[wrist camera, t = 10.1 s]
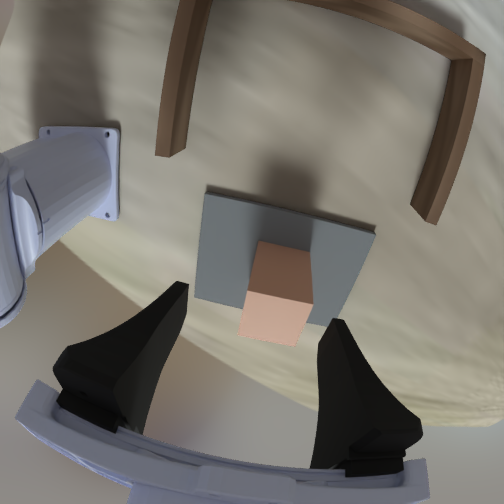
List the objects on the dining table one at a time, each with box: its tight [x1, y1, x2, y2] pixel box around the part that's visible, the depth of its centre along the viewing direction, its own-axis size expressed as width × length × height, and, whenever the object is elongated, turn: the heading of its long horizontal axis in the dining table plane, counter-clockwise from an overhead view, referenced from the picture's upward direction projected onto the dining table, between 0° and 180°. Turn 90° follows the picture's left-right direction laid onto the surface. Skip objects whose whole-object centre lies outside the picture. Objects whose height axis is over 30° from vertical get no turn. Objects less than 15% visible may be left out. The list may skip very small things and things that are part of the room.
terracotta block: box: [237, 241, 314, 347], centre depth 20 cm, size 4×4×6 cm
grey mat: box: [194, 192, 376, 327], centre depth 23 cm, size 13×10×1 cm
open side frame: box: [155, 0, 486, 225], centre depth 14 cm, size 19×13×3 cm
